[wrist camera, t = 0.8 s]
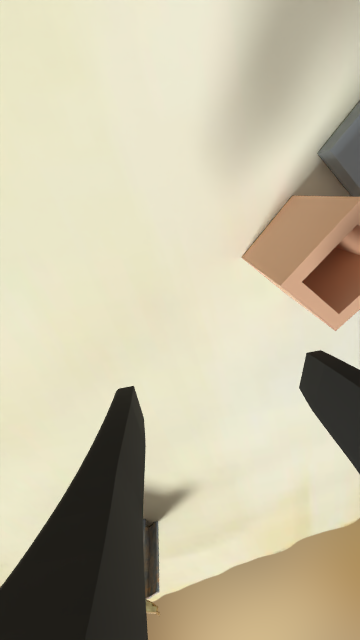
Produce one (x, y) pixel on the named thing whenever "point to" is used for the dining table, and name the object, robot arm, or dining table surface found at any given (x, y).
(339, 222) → the hollow square tube
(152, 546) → the books
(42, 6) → the dining table surface
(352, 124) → the stub board
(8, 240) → the dining table surface
